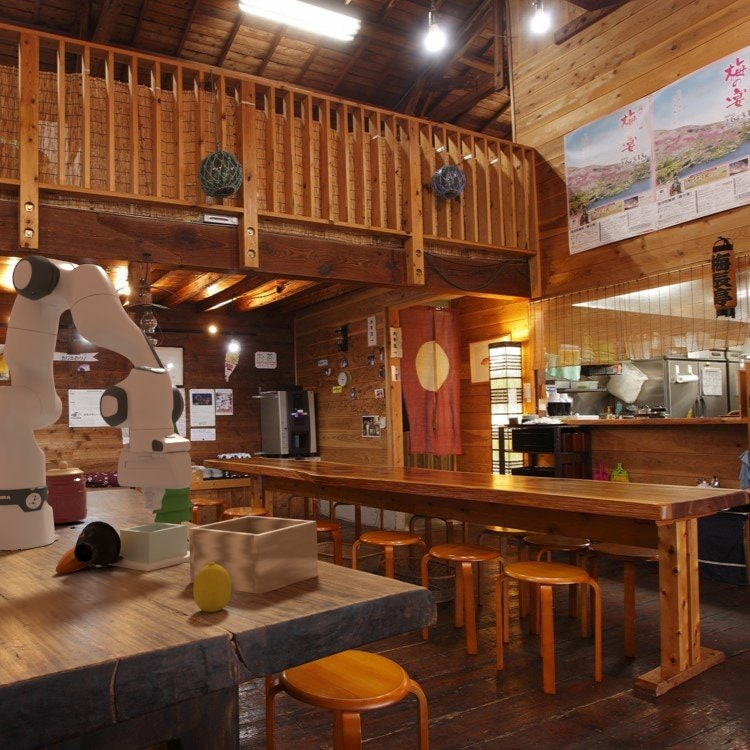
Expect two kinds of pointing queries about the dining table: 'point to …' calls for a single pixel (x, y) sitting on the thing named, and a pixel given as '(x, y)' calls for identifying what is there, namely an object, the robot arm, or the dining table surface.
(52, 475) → the canister
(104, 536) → the bowl of food
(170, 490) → the decorative tree
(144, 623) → the dining table surface
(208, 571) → the lemon
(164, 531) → the open rectangular box
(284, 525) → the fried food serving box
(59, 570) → the carrot
